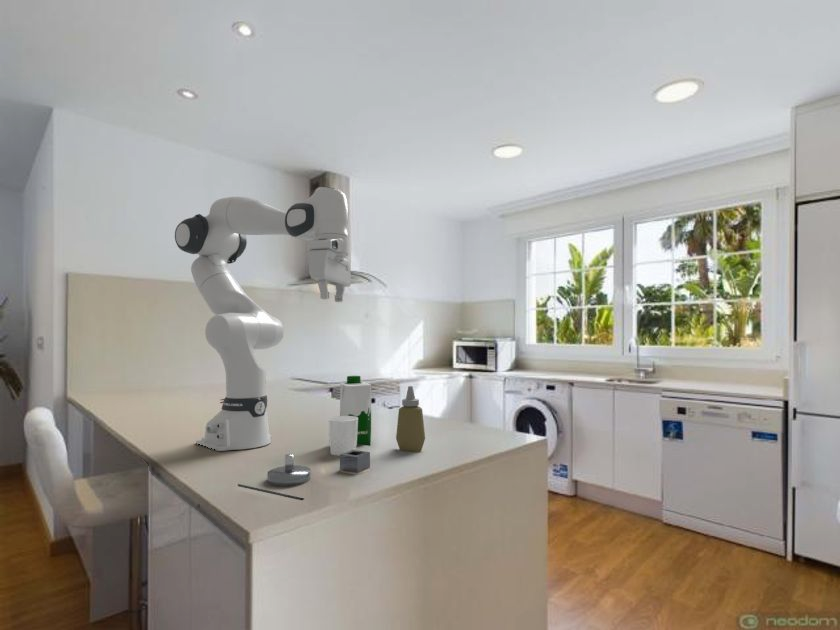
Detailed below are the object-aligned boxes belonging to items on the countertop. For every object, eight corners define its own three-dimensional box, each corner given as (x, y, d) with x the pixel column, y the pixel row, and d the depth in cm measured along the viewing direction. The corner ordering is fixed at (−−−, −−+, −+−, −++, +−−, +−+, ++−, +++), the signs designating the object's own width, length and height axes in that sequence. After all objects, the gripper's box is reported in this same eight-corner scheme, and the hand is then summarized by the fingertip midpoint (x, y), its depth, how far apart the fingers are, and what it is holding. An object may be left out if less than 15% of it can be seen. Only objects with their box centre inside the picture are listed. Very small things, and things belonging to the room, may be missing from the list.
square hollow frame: (339, 470, 105) (339, 454, 105) (352, 464, 109) (352, 449, 109) (357, 473, 102) (357, 457, 102) (369, 467, 107) (369, 452, 107)
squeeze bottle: (391, 453, 123) (391, 387, 123) (403, 447, 130) (403, 384, 131) (418, 456, 120) (418, 388, 120) (429, 449, 127) (429, 385, 128)
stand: (333, 475, 104) (333, 459, 104) (351, 467, 110) (351, 452, 110) (358, 479, 101) (358, 463, 101) (375, 471, 107) (375, 456, 107)
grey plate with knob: (237, 486, 97) (238, 456, 97) (279, 471, 107) (279, 444, 108) (301, 500, 88) (301, 467, 89) (339, 482, 99) (339, 453, 99)
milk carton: (365, 440, 138) (365, 375, 139) (374, 447, 130) (374, 377, 131) (337, 443, 135) (337, 376, 136) (344, 450, 127) (344, 378, 127)
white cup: (352, 460, 116) (352, 421, 117) (323, 459, 118) (323, 420, 118) (362, 452, 124) (362, 416, 124) (335, 451, 126) (335, 415, 126)
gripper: (335, 255, 130) (335, 303, 129) (303, 241, 110) (303, 297, 109) (356, 254, 129) (356, 303, 128) (328, 239, 109) (328, 296, 108)
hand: (332, 300), depth 118 cm, fingers open, 8 cm apart
